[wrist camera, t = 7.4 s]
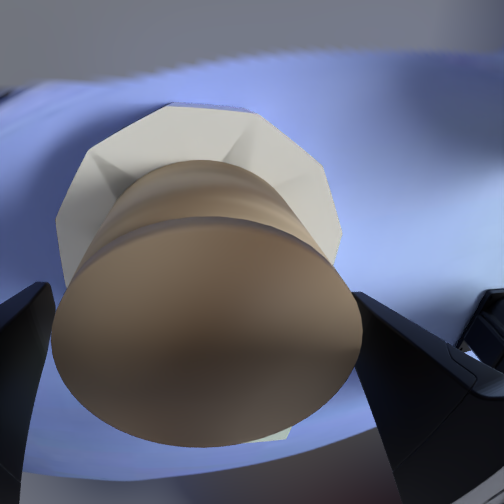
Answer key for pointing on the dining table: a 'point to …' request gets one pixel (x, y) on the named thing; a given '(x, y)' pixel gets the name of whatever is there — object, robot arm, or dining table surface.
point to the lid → (204, 312)
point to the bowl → (185, 149)
